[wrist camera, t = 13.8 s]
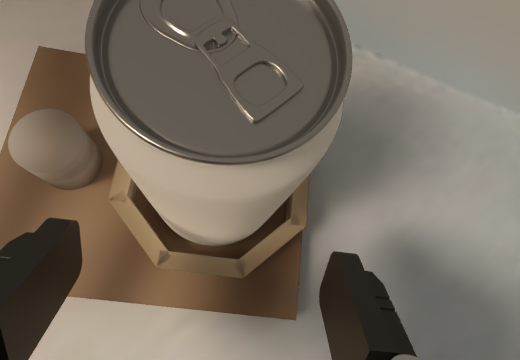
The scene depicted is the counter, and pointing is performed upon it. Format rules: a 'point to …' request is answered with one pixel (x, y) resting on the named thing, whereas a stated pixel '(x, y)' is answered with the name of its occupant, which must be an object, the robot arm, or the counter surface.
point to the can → (218, 103)
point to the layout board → (110, 232)
